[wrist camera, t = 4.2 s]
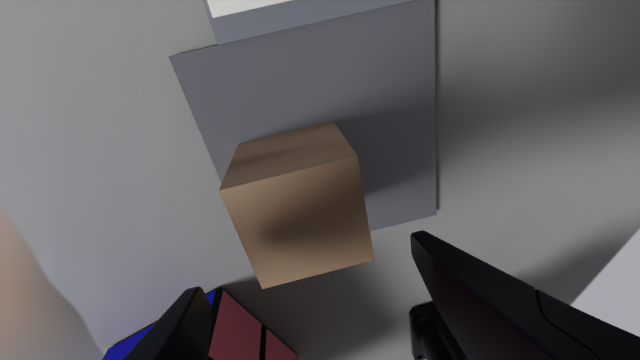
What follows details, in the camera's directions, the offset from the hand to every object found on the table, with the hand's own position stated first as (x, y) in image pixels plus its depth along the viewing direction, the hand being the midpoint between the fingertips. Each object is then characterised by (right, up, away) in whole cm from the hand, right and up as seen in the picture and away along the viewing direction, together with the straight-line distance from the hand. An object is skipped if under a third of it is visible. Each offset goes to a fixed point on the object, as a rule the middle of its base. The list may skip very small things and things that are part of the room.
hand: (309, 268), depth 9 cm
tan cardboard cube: (-1, +3, +6) cm, 7 cm away
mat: (+1, +5, +6) cm, 8 cm away
